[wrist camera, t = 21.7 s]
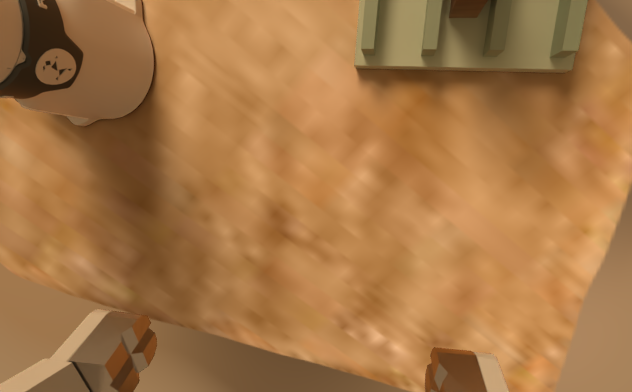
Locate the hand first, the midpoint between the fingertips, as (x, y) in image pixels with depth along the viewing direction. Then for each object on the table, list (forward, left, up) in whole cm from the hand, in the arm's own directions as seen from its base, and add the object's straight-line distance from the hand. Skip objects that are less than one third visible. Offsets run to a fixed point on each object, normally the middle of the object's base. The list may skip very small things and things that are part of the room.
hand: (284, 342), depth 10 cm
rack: (-4, +22, -30) cm, 37 cm away
